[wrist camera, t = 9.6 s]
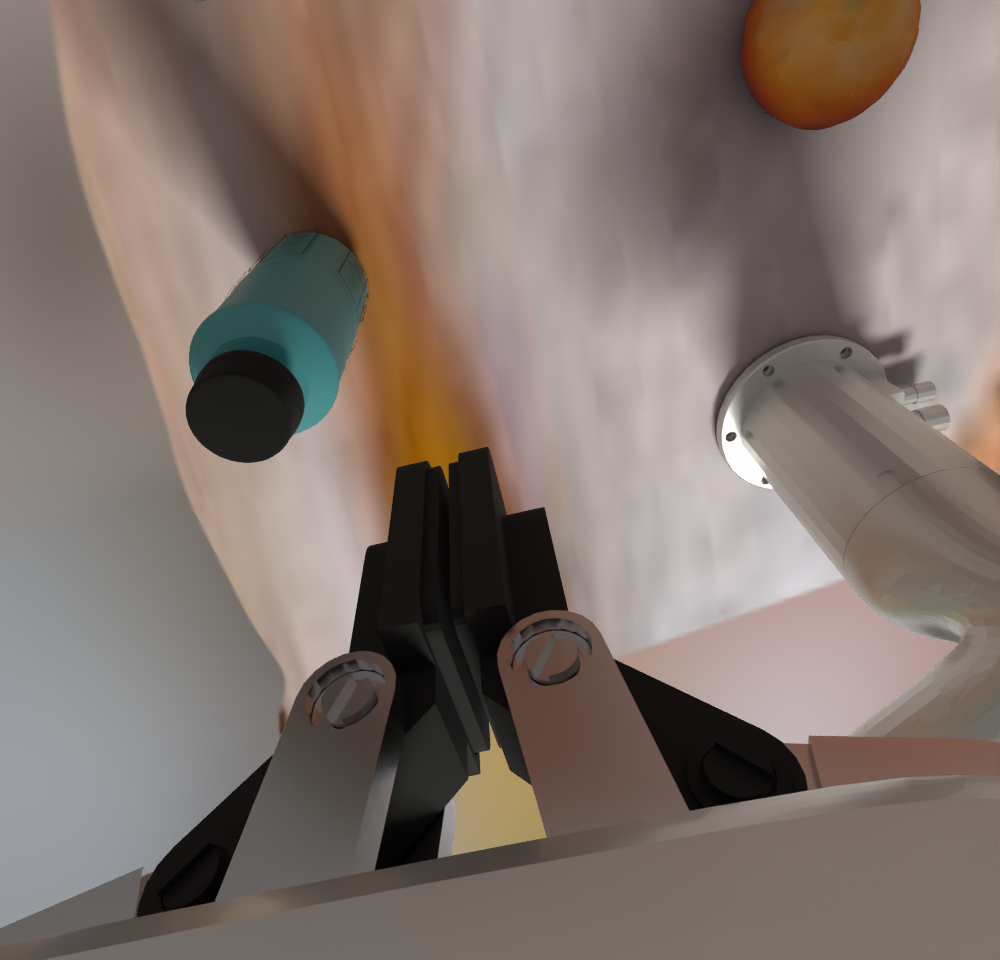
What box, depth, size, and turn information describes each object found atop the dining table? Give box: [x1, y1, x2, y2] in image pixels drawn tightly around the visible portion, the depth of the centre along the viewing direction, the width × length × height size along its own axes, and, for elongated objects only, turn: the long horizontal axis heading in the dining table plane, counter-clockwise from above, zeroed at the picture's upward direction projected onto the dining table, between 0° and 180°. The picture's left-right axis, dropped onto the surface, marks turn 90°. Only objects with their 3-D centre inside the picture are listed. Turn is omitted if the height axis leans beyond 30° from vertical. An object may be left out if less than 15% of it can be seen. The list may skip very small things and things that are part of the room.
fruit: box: [742, 0, 921, 130], centre depth 33 cm, size 8×8×8 cm
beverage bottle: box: [186, 230, 369, 463], centre depth 32 cm, size 6×7×20 cm
